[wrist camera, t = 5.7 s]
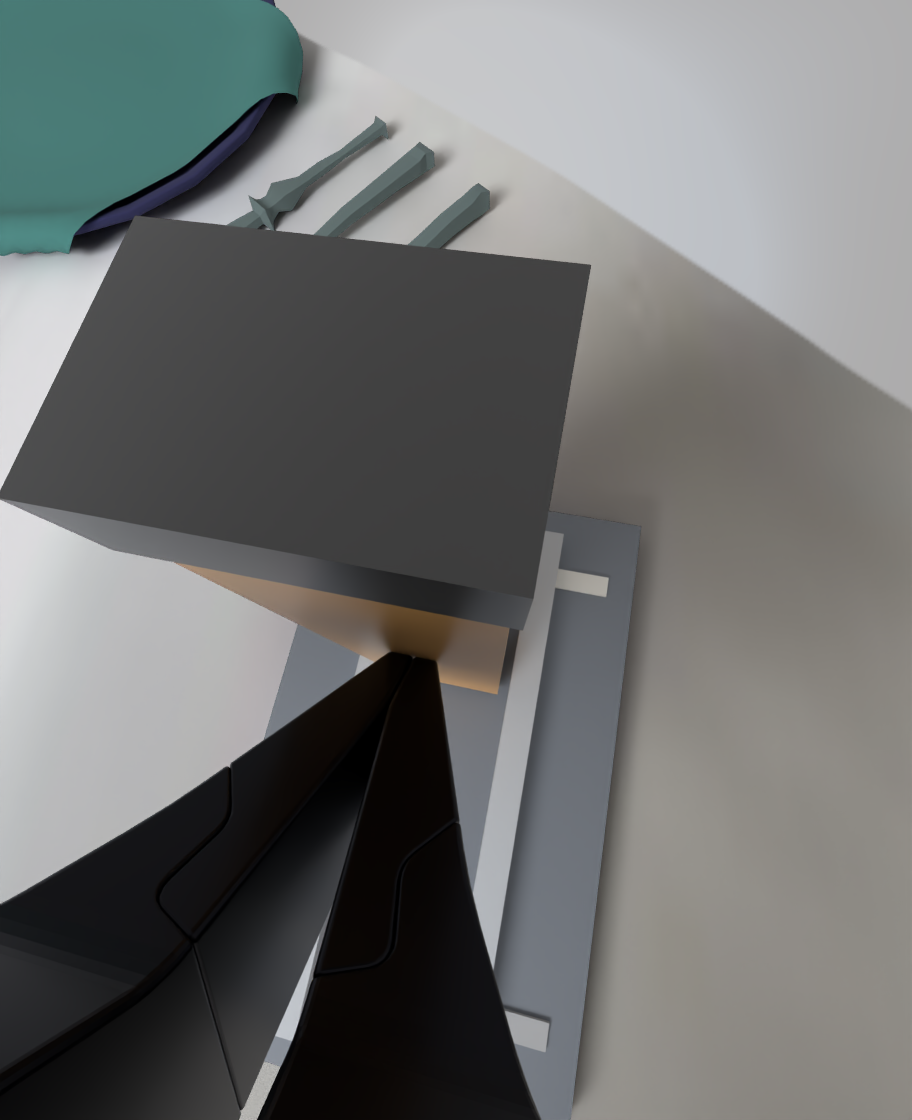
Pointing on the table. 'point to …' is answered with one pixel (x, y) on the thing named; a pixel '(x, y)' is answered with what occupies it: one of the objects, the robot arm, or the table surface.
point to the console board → (524, 788)
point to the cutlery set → (156, 116)
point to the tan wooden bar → (320, 429)
